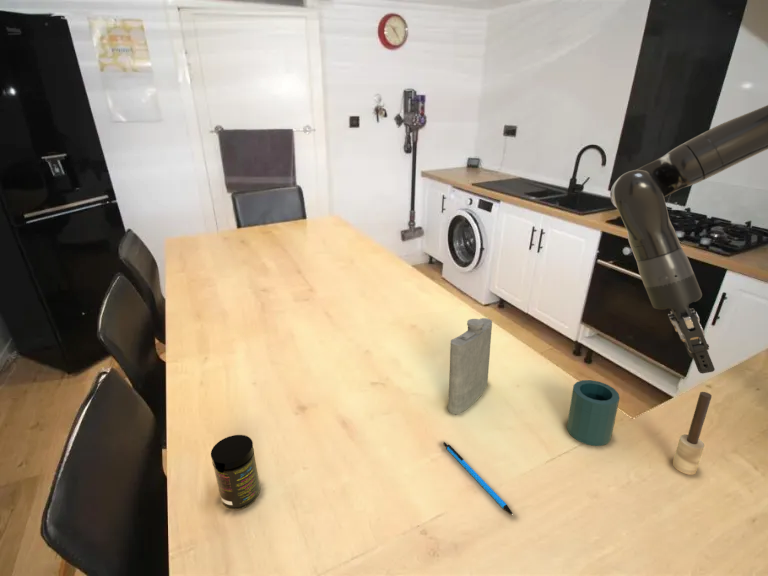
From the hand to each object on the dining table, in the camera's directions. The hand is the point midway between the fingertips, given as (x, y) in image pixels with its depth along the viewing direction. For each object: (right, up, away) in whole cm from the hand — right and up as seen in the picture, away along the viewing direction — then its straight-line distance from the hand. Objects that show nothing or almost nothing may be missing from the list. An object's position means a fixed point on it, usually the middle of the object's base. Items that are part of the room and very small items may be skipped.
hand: (701, 363), depth 72 cm
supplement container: (-81, -24, 0) cm, 85 cm away
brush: (0, -20, +4) cm, 20 cm away
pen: (-39, -22, +3) cm, 45 cm away
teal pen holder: (-13, -17, +13) cm, 25 cm away
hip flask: (-35, -13, +25) cm, 46 cm away
